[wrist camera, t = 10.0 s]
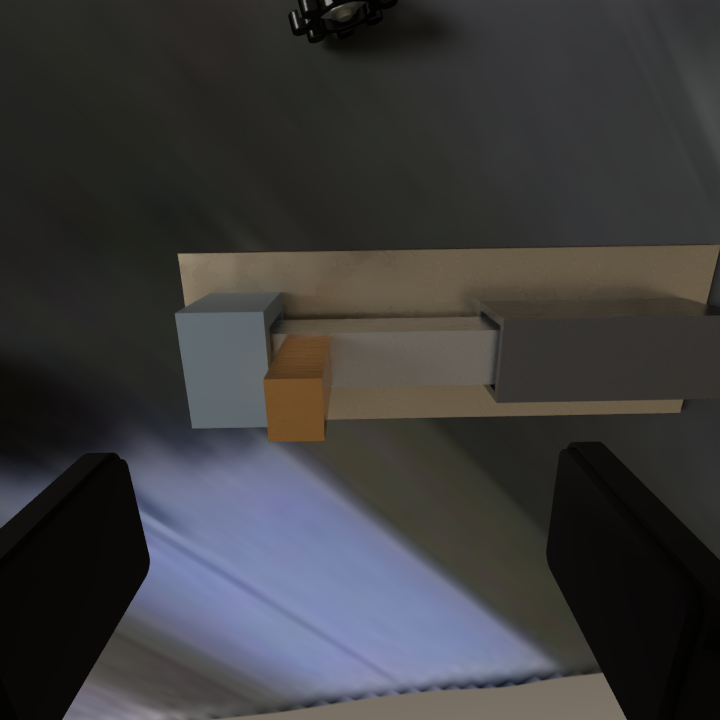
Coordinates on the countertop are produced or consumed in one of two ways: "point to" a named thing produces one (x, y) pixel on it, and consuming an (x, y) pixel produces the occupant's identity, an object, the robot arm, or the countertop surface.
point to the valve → (335, 17)
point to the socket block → (227, 357)
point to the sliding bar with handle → (368, 363)
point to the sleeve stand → (509, 320)
